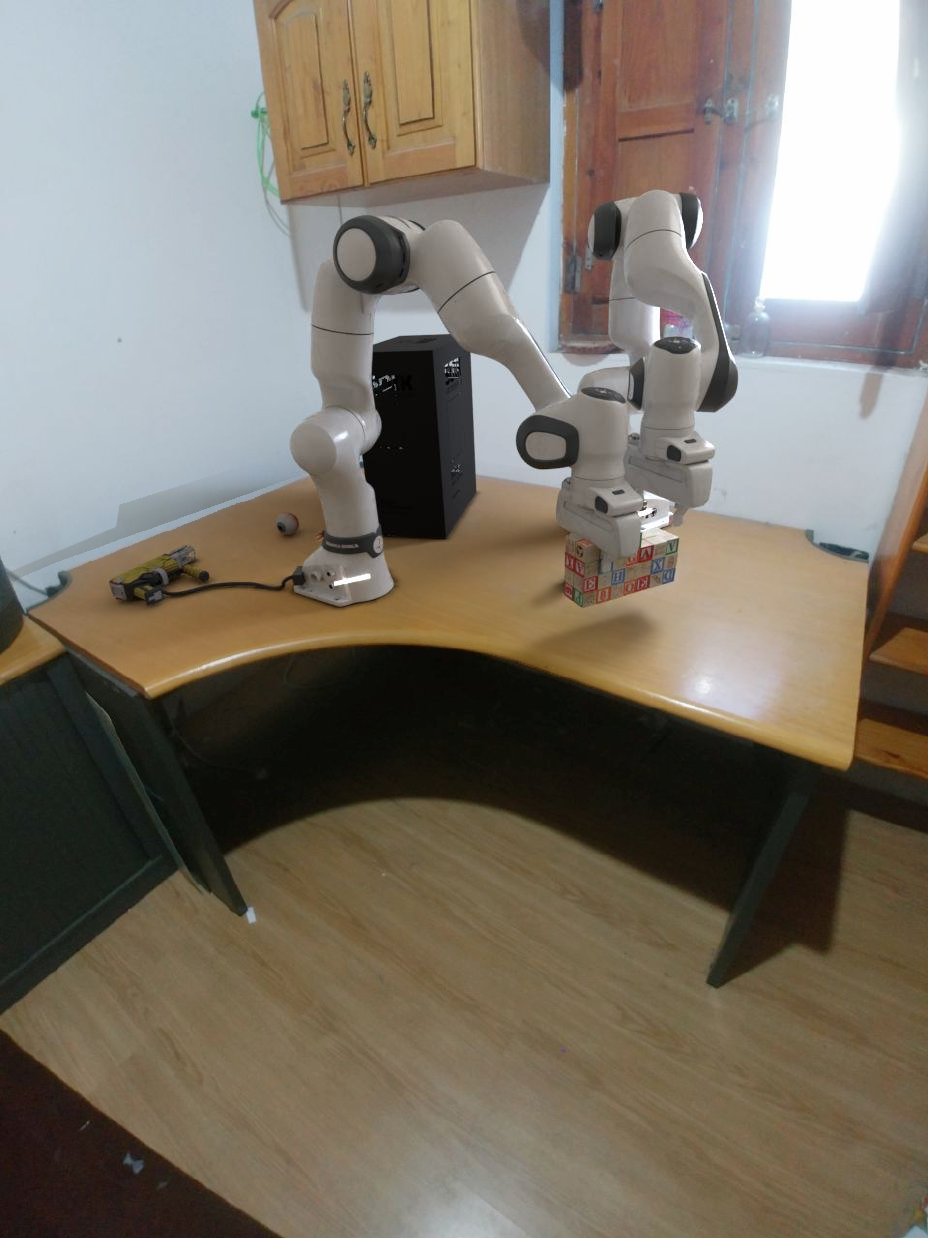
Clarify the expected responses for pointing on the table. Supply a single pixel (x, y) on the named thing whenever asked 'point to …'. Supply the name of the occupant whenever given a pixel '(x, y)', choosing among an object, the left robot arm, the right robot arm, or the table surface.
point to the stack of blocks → (618, 568)
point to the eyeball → (287, 523)
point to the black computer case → (422, 435)
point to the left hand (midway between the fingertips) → (591, 563)
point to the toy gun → (155, 576)
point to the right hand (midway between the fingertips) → (656, 517)
